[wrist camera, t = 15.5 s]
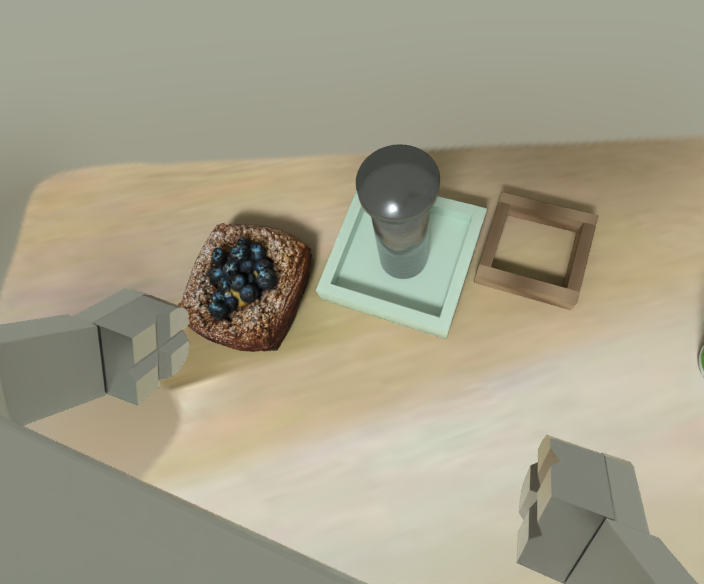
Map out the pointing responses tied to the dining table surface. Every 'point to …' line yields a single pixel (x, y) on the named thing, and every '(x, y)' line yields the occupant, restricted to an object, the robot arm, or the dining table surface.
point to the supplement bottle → (701, 360)
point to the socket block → (548, 216)
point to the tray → (404, 294)
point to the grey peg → (399, 205)
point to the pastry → (246, 286)
